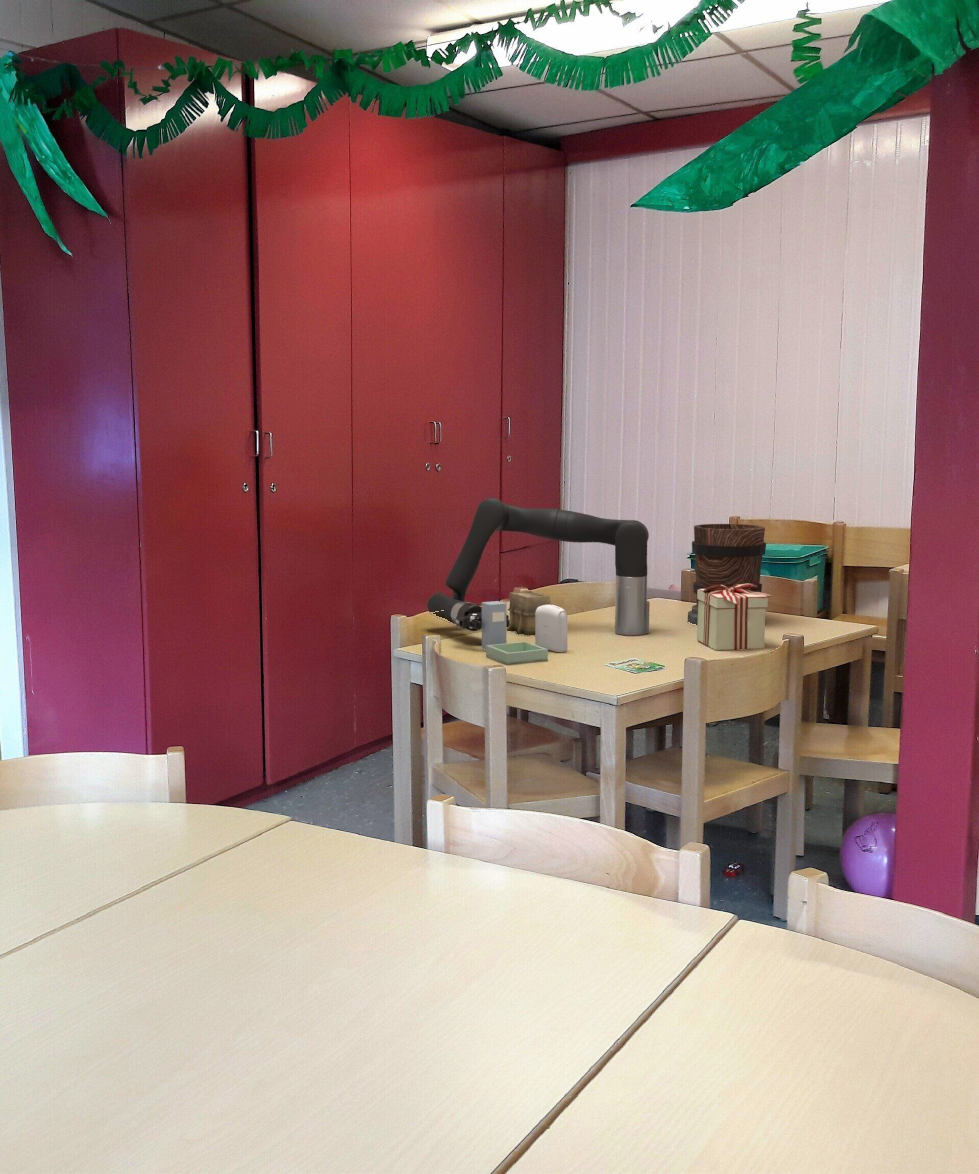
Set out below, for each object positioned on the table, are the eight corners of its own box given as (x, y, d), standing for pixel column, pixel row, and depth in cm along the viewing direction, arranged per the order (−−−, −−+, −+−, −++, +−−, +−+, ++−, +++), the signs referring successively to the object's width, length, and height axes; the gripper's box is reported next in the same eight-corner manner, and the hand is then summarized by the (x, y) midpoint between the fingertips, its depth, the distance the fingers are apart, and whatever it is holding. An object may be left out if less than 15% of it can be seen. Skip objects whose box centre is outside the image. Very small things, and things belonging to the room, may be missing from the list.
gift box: (722, 654, 290) (724, 590, 287) (691, 641, 307) (693, 581, 305) (779, 650, 294) (781, 588, 292) (745, 638, 312) (747, 579, 309)
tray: (525, 652, 292) (525, 641, 292) (547, 660, 282) (547, 649, 281) (486, 656, 287) (486, 645, 286) (507, 665, 276) (507, 653, 276)
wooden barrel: (674, 624, 334) (677, 527, 329) (714, 611, 357) (716, 520, 353) (747, 632, 320) (751, 531, 316) (783, 618, 344) (787, 524, 340)
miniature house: (525, 638, 313) (525, 599, 311) (503, 630, 325) (503, 592, 324) (570, 633, 320) (570, 595, 318) (546, 626, 332) (547, 589, 330)
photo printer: (532, 647, 298) (533, 603, 297) (544, 645, 301) (544, 602, 299) (558, 653, 291) (558, 608, 289) (569, 651, 293) (570, 606, 291)
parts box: (497, 647, 299) (497, 601, 297) (506, 650, 294) (506, 603, 293) (481, 648, 297) (481, 602, 295) (490, 652, 292) (490, 605, 290)
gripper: (445, 604, 305) (470, 613, 291) (490, 601, 312) (517, 609, 297) (445, 630, 306) (470, 640, 292) (490, 626, 313) (517, 635, 298)
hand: (494, 624), depth 295 cm, fingers open, 8 cm apart
